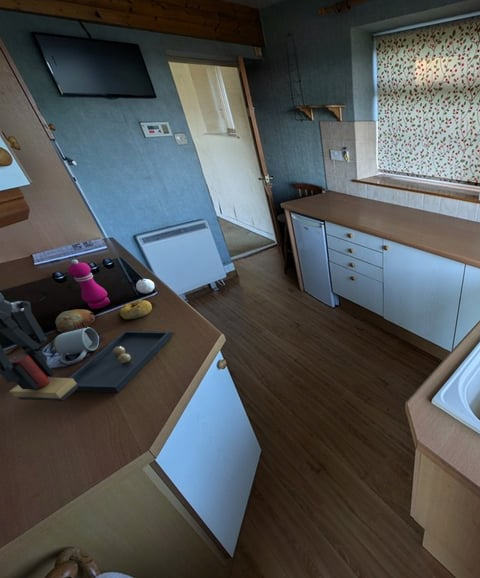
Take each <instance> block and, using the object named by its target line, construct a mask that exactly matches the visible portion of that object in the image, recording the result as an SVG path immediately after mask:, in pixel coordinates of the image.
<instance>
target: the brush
mask: <svg viewBox="0 0 480 578" xmlns="http://www.w3.org/2000/svg"><path fill="white" fill-rule="evenodd" d="M9 360H10V362H11V363H12V365H20V366H21V367H22V369H23V370H24V371H25V372H26V373H27V374H28V375H29V376H30V378H31V379H32V380H33V381H34V382H35V383H36V384H37V385H38V388H36V389H35V390H32V389H22V388H21V387H20V386H19V385H18V384H17V385H15V386H14V387H12V389H10V390H9V393H11V394H12V396H13V397H15V398H18V399H19V400H22V401H23V400H24V401H26V400H28V401H47V402H48V401H52V402H64V401H65V400H67V398H68V397H70V396H71V395H72V394H73V393H75V392H76V391H75V390H76V389H77V388H78V387H77V386H76V384H77V383H76V382H75V381H74V379H73V378H69V377H47V376H46V374H45V373H44V372H43V371H42V370H41V368H40V367H39V366H38V365H37V364H36V363H35V361H34V360H33V359H32V358H31V357H30V355H29V354H26V353H25V354H23V353H20V354H17V355H15V356H13V357H11V358H9Z"/></svg>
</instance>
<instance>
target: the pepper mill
mask: <svg viewBox="0 0 480 578" xmlns="http://www.w3.org/2000/svg"><path fill="white" fill-rule="evenodd" d="M70 263H71V264H70V265H69V266H68V268H67V273H68V274H69V275H70V276H72V277H73V278H74V280H75V281H76V282H78V283H79V285H80V288H81V294H80V295H81V298H82V300H83V301H84V302H85V303H87V305H88V307H89V308H90V309H92V310H97V309H101V308H104V307H106V306H109V304H110V303H111V300H110V299H109V297H107V296H108V292H107V290H105V288H104V287H102V285H101V286H100V285H99V284H98V283H97V282H96V281H95V280H94V278H93V277H94V275H93V273H92V272H91V271H92V269H91V268H92V267H90V265H89V264H88V263H86V262H79V260H77V259H72V260H71V262H70Z"/></svg>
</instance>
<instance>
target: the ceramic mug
mask: <svg viewBox="0 0 480 578" xmlns="http://www.w3.org/2000/svg"><path fill="white" fill-rule="evenodd" d="M99 345H100V339H99V335H98V333H97V332H96V330H95V329H94V328H92V327H90V326H88V327H87V328H83V329H79V330H75V331H71V332H66V333H60V334H58V335H57V336H55V337H54V339H53V345H52V346H53V348H54V350H55V352H56V353H57V354H58V355H59V359H60V361H61V362H62V363H63V364H66V365H73V364H77V363H79V362H81V361H83V360H84V358H85V357H86V355H87V353H89V352H93V351H96V350H97V349H98V347H99ZM67 353H69V354H67ZM76 354H79V356H78V357H76V358H75V359H73V360H66V356H72V355H76Z"/></svg>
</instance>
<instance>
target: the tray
mask: <svg viewBox="0 0 480 578" xmlns="http://www.w3.org/2000/svg"><path fill="white" fill-rule="evenodd" d="M172 338H173V336H172V334H171V332H170V331H148V330H147V331H144V330H140V331H139V330H124V331H123V332H122V333H120V334H119V335H118V336H117V337H116V338H114V339H113V340H112V341H110V343H108V344H107V345H106V346H105V347H104V348H102V349H101V350H100V351H99V352H98V353H97V354H94V356H93V357H92V358H91V359H89V360H88V361H87V362H85V363H84V364H83V365H82V366H81V367H80V368H78V369H77V370H76V371H75V372H73V373H72V374H71V375H70V376H69V377H68V378H73V379H74V381H75V382H76V383H77V384H76V386H77V387H78V388H77V389H76V390H75V391H74V392H78V393H79V392H81V393H82V392H83V393H84V392H85V393H120V392H121V391H122V390H123V389H124V388H125V386H126V385H128V383H130V381H131V380H132V379H133V378H135V376H137V374H138V373H139V372H140V371H141V370H142V369H143V368H144V367H145V366H146V365H147V363H149V362H150V360H152V359H153V358H154V356H155V355H157V353H158V352H159V351H160V350H161V349H162V348H163V347H164V346H165V345H166V344H167V343H168V342H169V340H171V339H172ZM118 346H122V347H124V348H125V353H127V354H129V355H130V356H131V359H130V361H129V362H127V363H120V362H119V361H118V357H119V356H115V355H114V354H113V349H114V348H116V347H118Z"/></svg>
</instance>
